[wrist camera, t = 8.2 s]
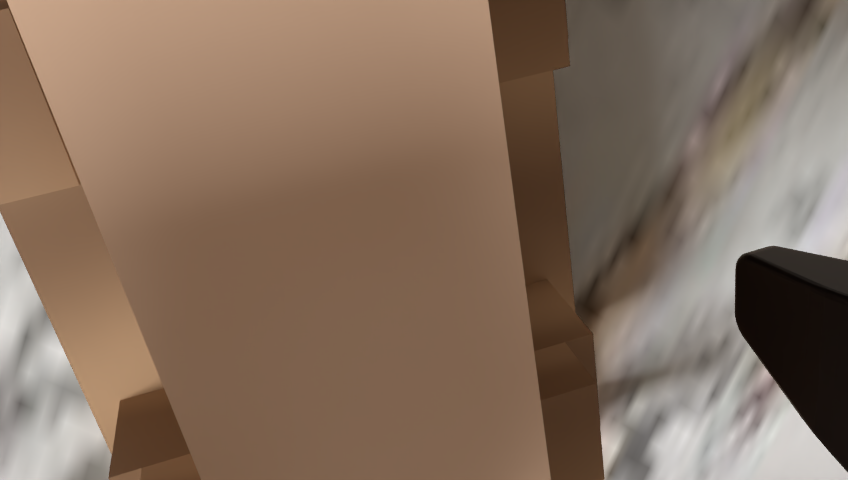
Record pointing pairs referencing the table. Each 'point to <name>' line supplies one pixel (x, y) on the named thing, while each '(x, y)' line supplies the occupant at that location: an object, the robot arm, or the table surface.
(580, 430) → the rack
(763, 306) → the robot arm
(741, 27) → the table surface
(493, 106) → the tan rectangular block
